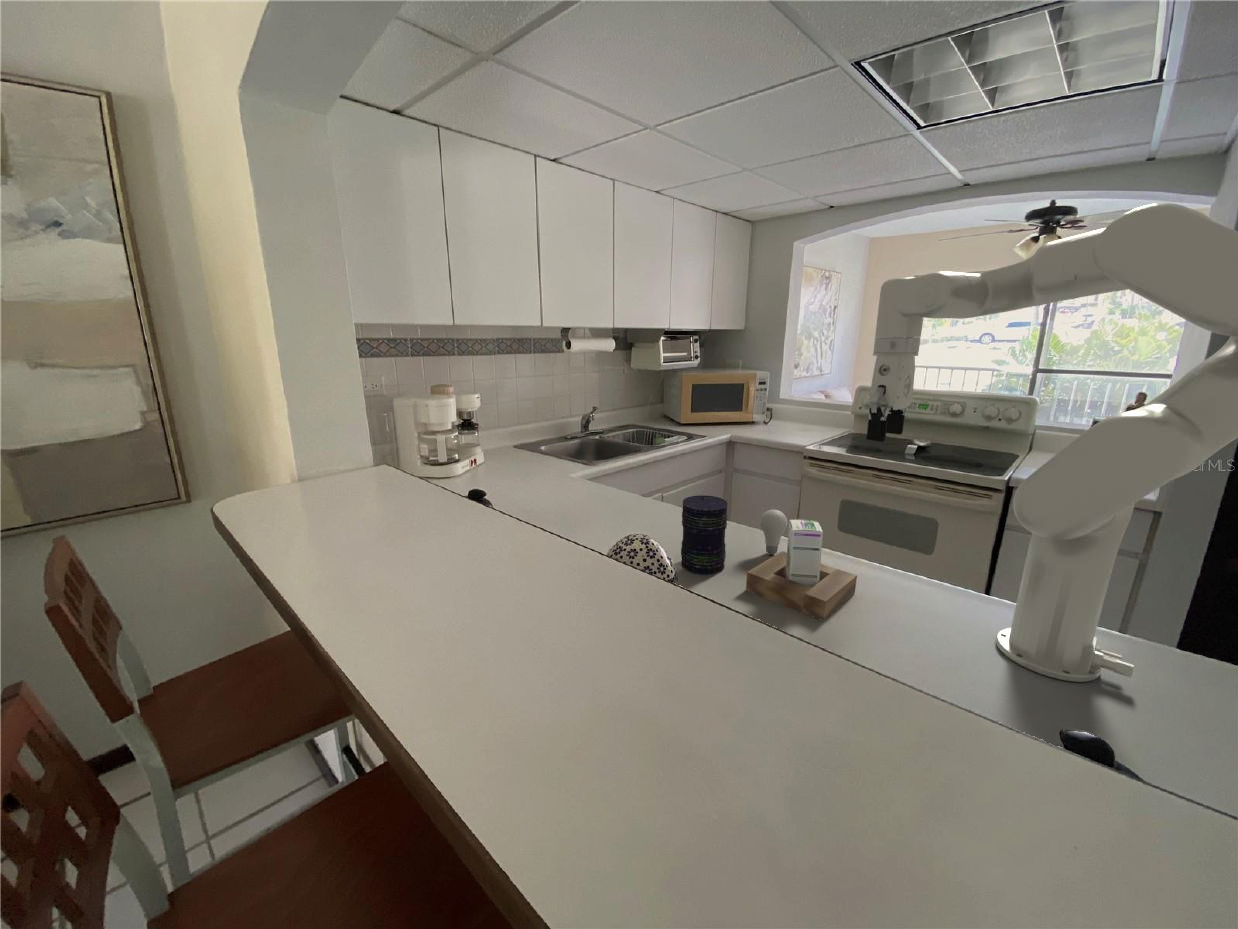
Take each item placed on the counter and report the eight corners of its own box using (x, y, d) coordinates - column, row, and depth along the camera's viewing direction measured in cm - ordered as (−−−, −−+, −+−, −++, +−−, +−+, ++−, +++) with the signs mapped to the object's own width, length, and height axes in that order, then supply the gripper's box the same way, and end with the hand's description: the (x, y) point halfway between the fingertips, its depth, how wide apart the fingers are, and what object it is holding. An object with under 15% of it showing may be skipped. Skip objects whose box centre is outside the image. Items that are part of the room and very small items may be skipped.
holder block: (854, 593, 98) (857, 575, 97) (823, 621, 88) (826, 601, 87) (780, 567, 109) (781, 551, 108) (745, 590, 99) (747, 572, 98)
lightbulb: (788, 552, 117) (791, 508, 114) (780, 562, 112) (784, 516, 109) (762, 547, 120) (765, 504, 117) (754, 556, 115) (757, 511, 112)
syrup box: (818, 601, 95) (825, 531, 92) (786, 598, 96) (792, 528, 93) (813, 587, 101) (820, 520, 97) (783, 584, 102) (788, 518, 98)
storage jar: (729, 575, 106) (732, 509, 102) (683, 575, 106) (685, 510, 102) (719, 555, 115) (722, 494, 112) (678, 556, 115) (679, 495, 112)
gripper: (902, 349, 84) (889, 446, 88) (932, 347, 96) (919, 433, 100) (857, 348, 89) (847, 440, 94) (890, 346, 101) (880, 428, 105)
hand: (884, 436), depth 97 cm, fingers open, 9 cm apart
